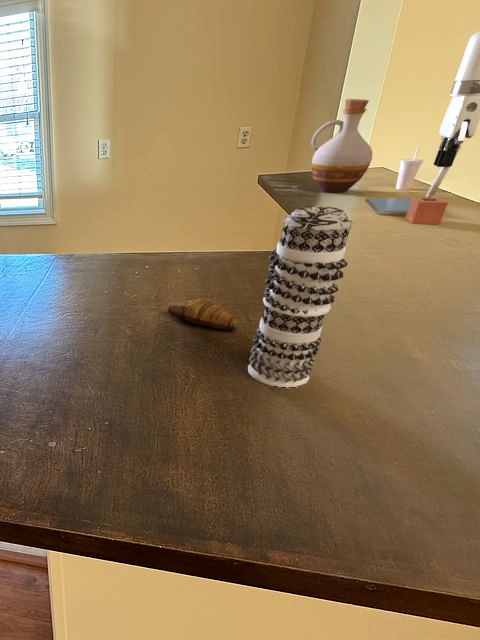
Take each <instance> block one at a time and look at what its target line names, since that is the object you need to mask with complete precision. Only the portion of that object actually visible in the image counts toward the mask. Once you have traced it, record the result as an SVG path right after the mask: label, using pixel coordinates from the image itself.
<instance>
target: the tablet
mask: <svg viewBox="0 0 480 640" xmlns="http://www.w3.org/2000/svg"><path fill="white" fill-rule="evenodd" d="M364 201H365V203H367V204H368V205H369V206H370V208H372V209H373V210H374V211H375V212H376V213H377V214H378V215H379V216H406V215H407V212H408V209H409V206H410V204H411V201H412V198H409V197H407V198H406V197H405V198H402V197H400V198H399V197H397V198H396V197H365V200H364Z"/></svg>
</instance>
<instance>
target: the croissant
mask: <svg viewBox="0 0 480 640" xmlns="http://www.w3.org/2000/svg"><path fill="white" fill-rule="evenodd" d="M168 305H169V306H168V308H167V311H168V312H167V313H169V314H170V315H171V316H173V317H176V318H178V319H181V320H183V321H186V322H189V323H191V324H192V325H197V326H202V327H209V328H212V329H215V330H216V329H217V330H222V331H235V330H236V329H237V328H238V326H239V321H238V320H237V318H236V317H234V315H233V314H232V313H230V312H229V311H227V310H226V308H223V307H222V306H221V305H220V303H219V302H218V301H216V300H214V299H211V298H207V297H202V298H196V299H192V300H184V301H177V302H173V303H169V304H168Z"/></svg>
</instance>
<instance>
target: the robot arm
mask: <svg viewBox="0 0 480 640" xmlns="http://www.w3.org/2000/svg"><path fill="white" fill-rule="evenodd" d="M449 97H451V100H450V102H449V104H448V107H447V108H446V111H445V113H444V117H443V119H442V122H441V124H440V128H439V130H438V131H439V132H438V134H439V135H440V136H441V141H440V143H439V144H440V145H439V147H438V150H437V154H436V156H435V159H434V162H433V166H436V167H437V168H442V167H450V168H451V167H452V166H453V164H454V162H455V159H456V157H457V156H456V154H457V151H458V149H459V147H460V145H462V144H464V141H465V139H471V138H473V137H474V135H475V134H476V131H477V129H478V125H479V122H480V31H477V32H475V33H473V34H472V35H471V36H470V38H469V40H468V43H467V45H466V48H465V51H464V54H463V57H462V59H461V62H460V65H459V67H458V71H457V73H456V76H455V79H454V81H453V85H452V88H451V90H450V93H449ZM457 155H458V154H457ZM455 156H456V157H455Z"/></svg>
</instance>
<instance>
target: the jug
mask: <svg viewBox="0 0 480 640" xmlns="http://www.w3.org/2000/svg"><path fill="white" fill-rule="evenodd" d="M369 102H370V100H369V99H359V98H348V99H345V101H344V105H345V106H344V107H345V108H344V109H343V110H342V113H343V121H342V120H340V119H334V120H330V121H328V122H326V123H325V124H323V125H322V126H320V127H319V128H318V129H317V130H316V131H315V132H314V134H313V137H312V138H311V148H312V150H314V151H315V152H314V155H313V157H312V159H311V174H312V179H313V181H314V182H315V185H316V187H317V188H318V189H319V191H320V192H321V193H326V194H327V193H328V194H343V193H346V192H347V191H349V190H350V189H351V188H352V187H353V186H354V185H356V184H357V183H358V182H359V181H360V180H361V179H362V178H363V176H364V175H365V173H367V171H368V169H369V167H370V166H371V163H372V160H373V150H372V147H371V146H370V144H368V142H367V141H366V139H364V137H363V136H362V135H361V133H360V132H359V125H360V121H361V118H363V115H364V114H365V113H366V111H367V108H366V107H367V106H368V103H369ZM335 125H338V126H339V130H338V132H337V133H336V134H335V135H334V136H333V137H331V138H330V139H329V140H327V141H326V142H325V143H322V144H321V145H317V140H318V137H319V135H320V134H321V133H322V132H323V131H325V130H326V129H327V128H329V127H331V126H335Z"/></svg>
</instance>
